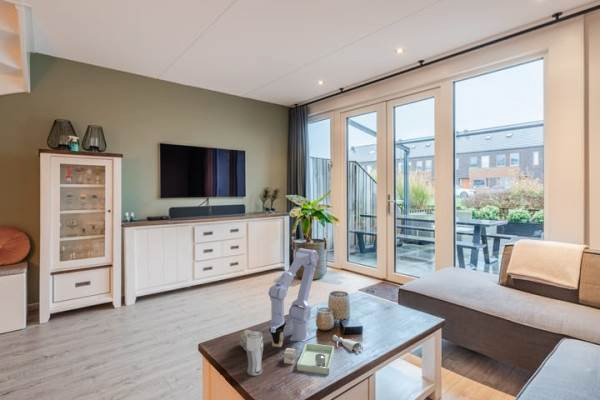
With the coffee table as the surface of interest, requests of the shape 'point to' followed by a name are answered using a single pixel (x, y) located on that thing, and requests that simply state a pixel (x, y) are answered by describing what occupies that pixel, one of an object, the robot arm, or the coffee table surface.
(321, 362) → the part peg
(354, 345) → the woman figurine
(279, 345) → the part oak
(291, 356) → the part birch
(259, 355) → the beer glass
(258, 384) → the coffee table surface
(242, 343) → the fossil replica
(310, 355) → the tray
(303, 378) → the coffee table surface
